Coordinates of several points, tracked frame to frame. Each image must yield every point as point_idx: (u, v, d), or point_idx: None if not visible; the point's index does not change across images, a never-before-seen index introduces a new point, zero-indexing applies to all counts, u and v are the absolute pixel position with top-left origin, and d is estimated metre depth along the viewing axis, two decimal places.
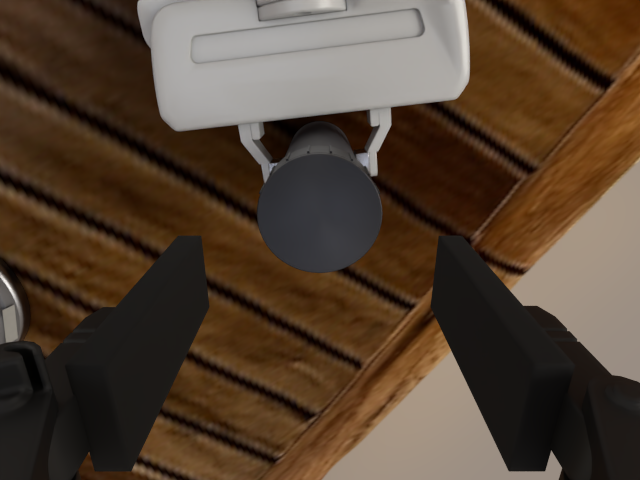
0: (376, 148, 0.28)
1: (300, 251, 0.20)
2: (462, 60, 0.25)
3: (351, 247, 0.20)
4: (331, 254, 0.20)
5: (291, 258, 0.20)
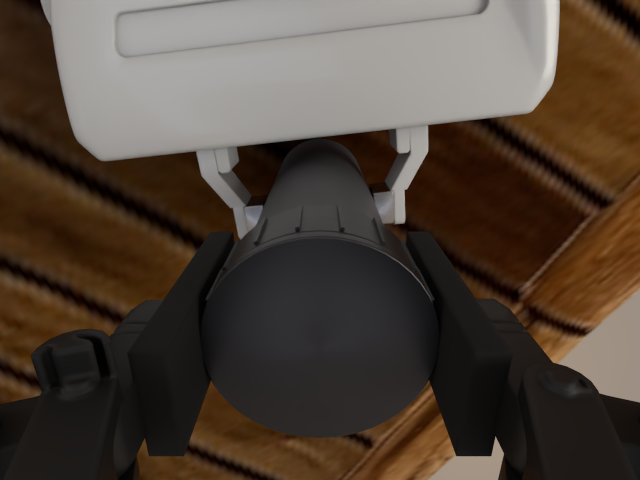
0: (404, 185, 0.19)
1: (284, 404, 0.11)
2: (547, 52, 0.16)
3: (379, 398, 0.11)
4: (342, 409, 0.11)
5: (267, 415, 0.11)
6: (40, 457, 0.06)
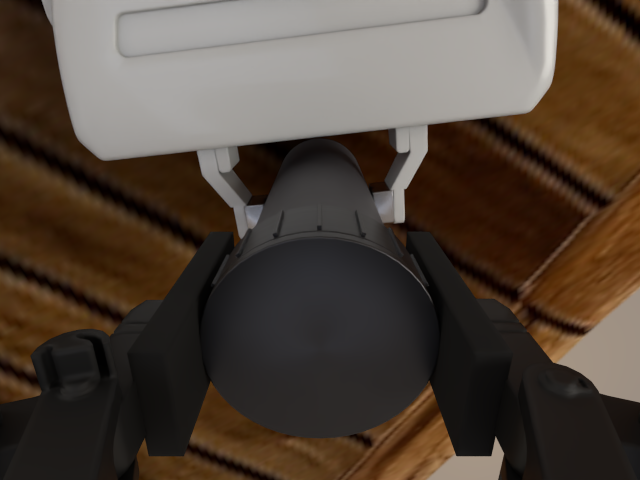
0: (404, 184, 0.19)
1: (390, 379, 0.10)
2: (545, 52, 0.16)
3: (387, 293, 0.10)
4: (400, 328, 0.10)
5: (403, 393, 0.11)
6: (40, 456, 0.06)
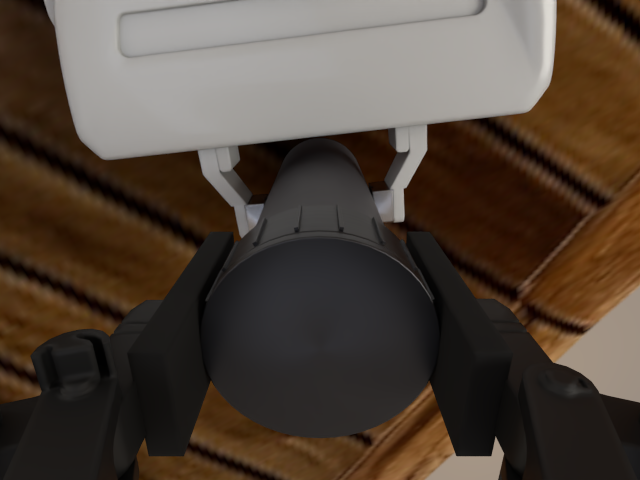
0: (403, 184, 0.19)
1: (360, 284, 0.09)
2: (544, 52, 0.16)
3: (252, 293, 0.10)
4: (293, 278, 0.09)
5: (380, 269, 0.09)
6: (40, 456, 0.06)
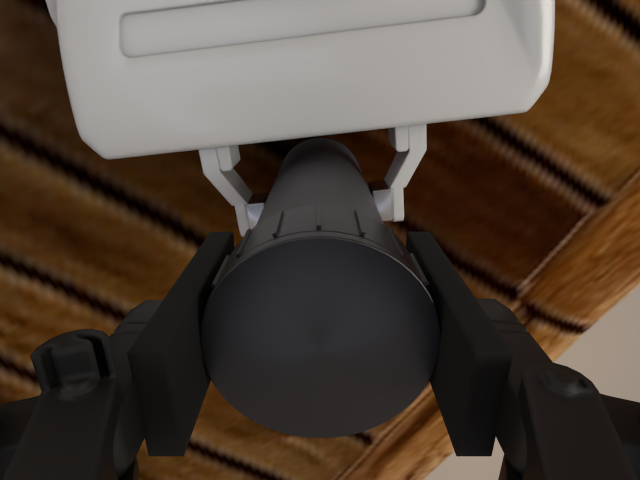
0: (403, 183, 0.19)
1: (244, 317, 0.10)
2: (542, 52, 0.16)
3: (260, 398, 0.11)
4: (243, 368, 0.10)
5: (227, 300, 0.10)
6: (39, 456, 0.06)
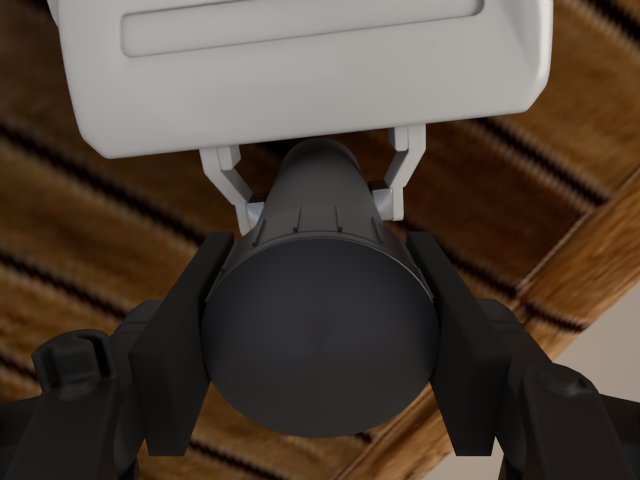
0: (402, 182, 0.19)
1: (285, 405, 0.11)
2: (541, 52, 0.16)
3: (381, 397, 0.11)
4: (343, 409, 0.11)
5: (269, 417, 0.11)
6: (40, 456, 0.06)
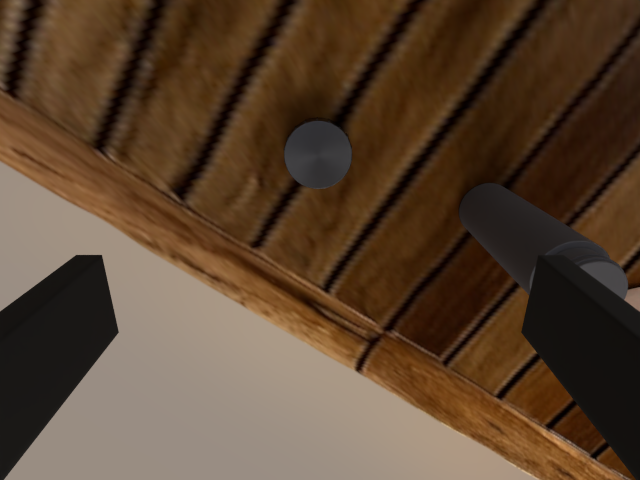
0: None
1: (338, 165, 0.36)
2: None
3: (335, 137, 0.35)
4: (340, 148, 0.36)
5: (342, 170, 0.37)
6: None
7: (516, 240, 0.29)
